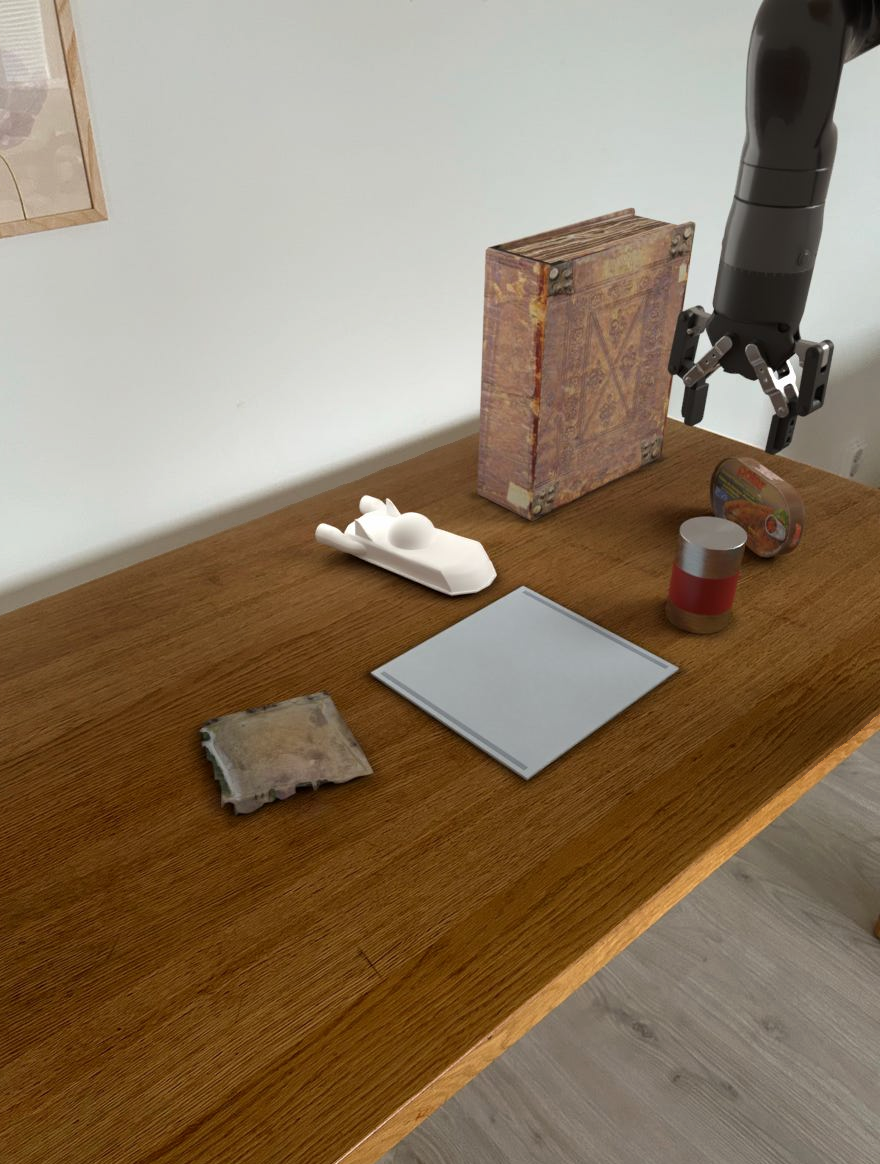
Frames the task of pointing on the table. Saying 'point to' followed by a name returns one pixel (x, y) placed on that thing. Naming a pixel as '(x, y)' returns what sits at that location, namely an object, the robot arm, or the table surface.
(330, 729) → the parchment
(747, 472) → the tin
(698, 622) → the can
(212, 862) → the table surface
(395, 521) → the white toy spaceship
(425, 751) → the table surface
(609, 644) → the square board
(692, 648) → the table surface
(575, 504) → the table surface
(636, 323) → the book
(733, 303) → the robot arm
